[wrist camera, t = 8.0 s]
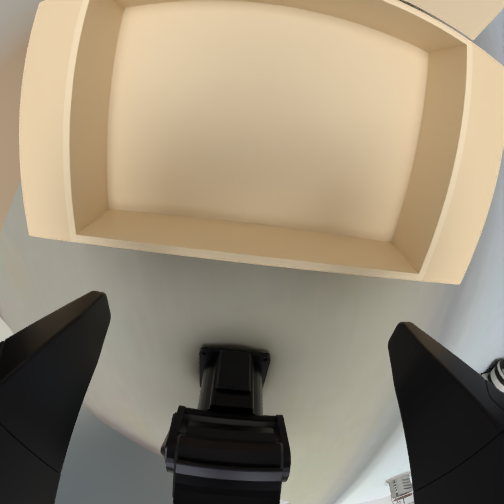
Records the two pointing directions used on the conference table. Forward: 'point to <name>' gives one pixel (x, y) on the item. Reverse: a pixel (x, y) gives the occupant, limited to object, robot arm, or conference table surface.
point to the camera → (496, 376)
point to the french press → (400, 486)
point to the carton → (262, 133)
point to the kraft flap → (463, 13)
